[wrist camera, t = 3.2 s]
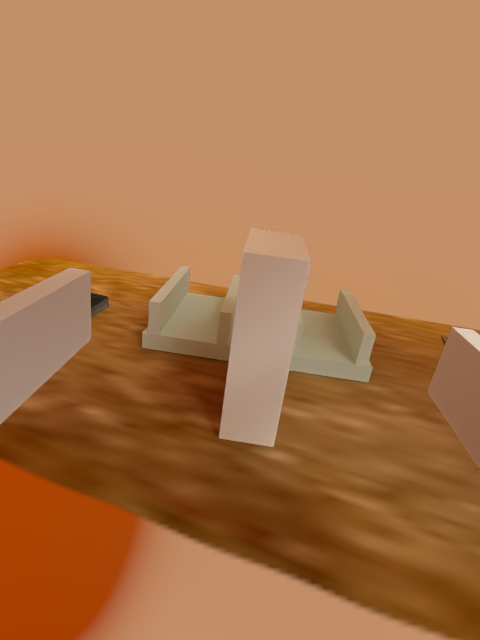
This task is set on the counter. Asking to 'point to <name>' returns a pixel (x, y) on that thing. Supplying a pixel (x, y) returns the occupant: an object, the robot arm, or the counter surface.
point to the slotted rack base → (218, 319)
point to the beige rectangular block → (263, 335)
